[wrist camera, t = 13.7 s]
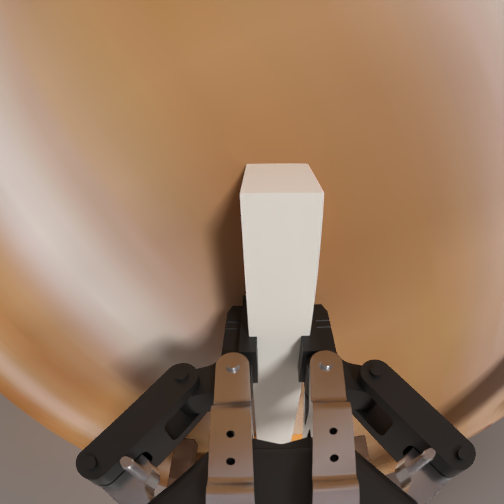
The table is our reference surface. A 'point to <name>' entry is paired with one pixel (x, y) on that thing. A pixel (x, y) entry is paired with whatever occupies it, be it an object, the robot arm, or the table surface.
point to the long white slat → (279, 284)
